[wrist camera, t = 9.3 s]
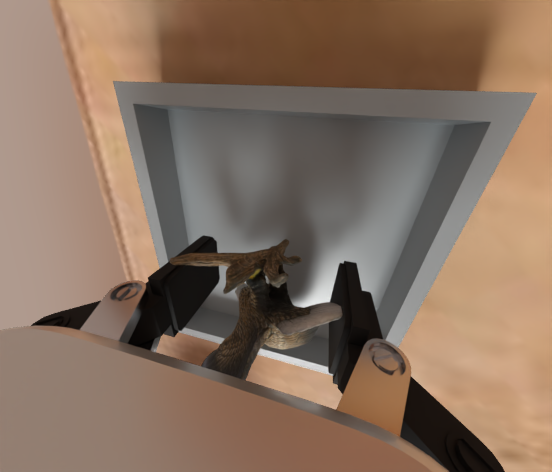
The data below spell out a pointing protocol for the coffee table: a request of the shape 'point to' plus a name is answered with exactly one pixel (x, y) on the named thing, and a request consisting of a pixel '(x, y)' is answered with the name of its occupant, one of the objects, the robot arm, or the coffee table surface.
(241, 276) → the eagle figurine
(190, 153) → the bin
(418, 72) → the coffee table surface
